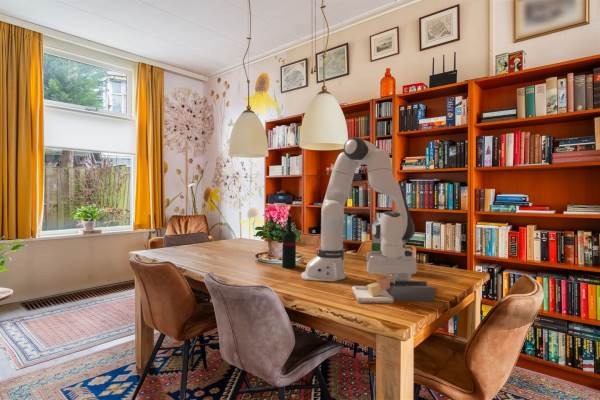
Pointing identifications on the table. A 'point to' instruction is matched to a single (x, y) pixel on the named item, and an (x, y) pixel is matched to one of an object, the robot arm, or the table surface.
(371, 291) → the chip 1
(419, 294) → the slot block
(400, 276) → the supplement box
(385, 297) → the tray
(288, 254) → the wine bottle
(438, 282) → the table surface
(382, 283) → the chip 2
